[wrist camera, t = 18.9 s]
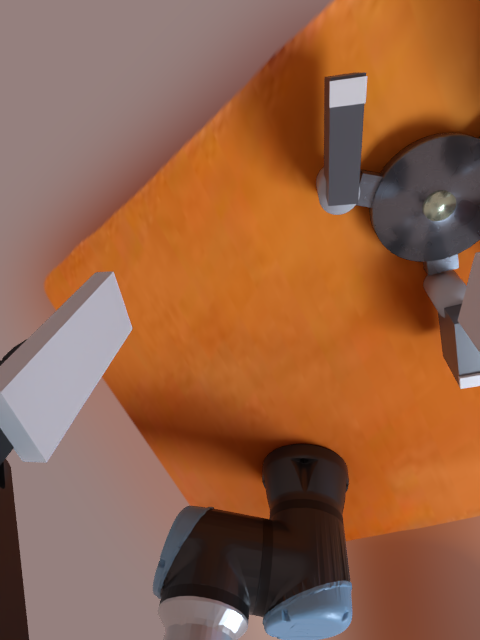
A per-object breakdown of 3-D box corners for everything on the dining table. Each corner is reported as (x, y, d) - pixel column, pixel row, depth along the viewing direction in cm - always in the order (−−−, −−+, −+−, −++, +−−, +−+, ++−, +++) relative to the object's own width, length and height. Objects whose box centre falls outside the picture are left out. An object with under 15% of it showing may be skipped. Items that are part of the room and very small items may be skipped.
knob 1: (421, 272, 41) (447, 312, 34) (456, 263, 40) (490, 303, 33) (431, 344, 46) (455, 391, 39) (462, 337, 45) (492, 385, 38)
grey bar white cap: (351, 197, 37) (364, 225, 30) (316, 200, 38) (321, 228, 31) (357, 71, 31) (375, 71, 24) (315, 77, 32) (321, 79, 25)
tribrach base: (426, 281, 41) (433, 292, 39) (334, 196, 37) (337, 203, 35) (552, 187, 34) (570, 194, 32) (457, 69, 30) (469, 68, 28)
